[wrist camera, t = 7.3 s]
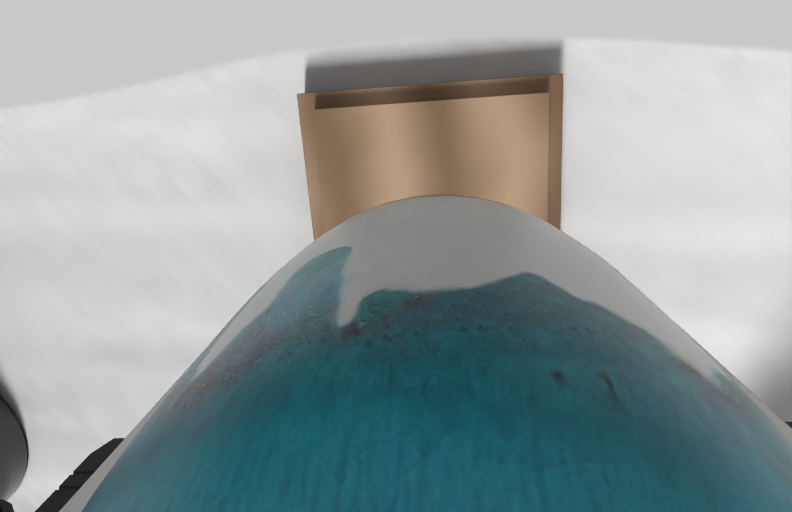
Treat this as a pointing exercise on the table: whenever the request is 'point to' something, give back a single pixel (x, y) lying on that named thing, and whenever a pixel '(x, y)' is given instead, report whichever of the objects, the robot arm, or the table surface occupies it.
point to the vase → (451, 386)
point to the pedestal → (434, 145)
